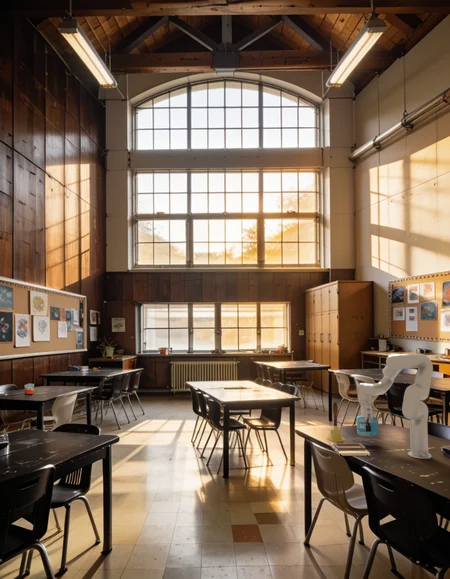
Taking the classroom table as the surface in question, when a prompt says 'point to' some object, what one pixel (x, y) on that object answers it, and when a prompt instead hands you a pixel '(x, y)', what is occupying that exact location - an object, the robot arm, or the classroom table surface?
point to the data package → (362, 426)
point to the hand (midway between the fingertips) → (367, 430)
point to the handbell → (335, 427)
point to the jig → (350, 449)
